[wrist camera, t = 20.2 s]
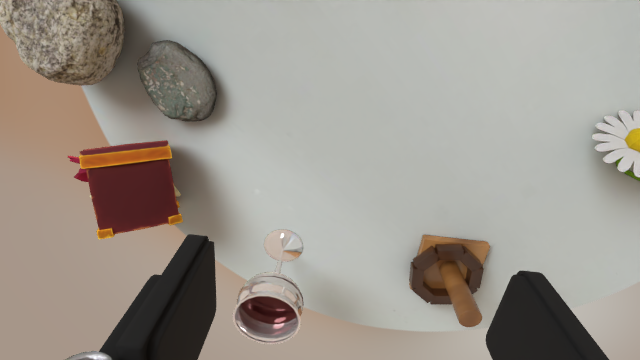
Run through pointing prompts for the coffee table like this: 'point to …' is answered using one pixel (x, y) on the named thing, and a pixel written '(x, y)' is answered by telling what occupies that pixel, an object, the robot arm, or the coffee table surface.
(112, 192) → the book monster
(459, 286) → the wooden peg stand
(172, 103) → the stone
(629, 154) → the decorative flower
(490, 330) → the robot arm
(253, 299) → the wineglass
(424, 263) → the ring
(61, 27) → the stone
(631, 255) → the coffee table surface
